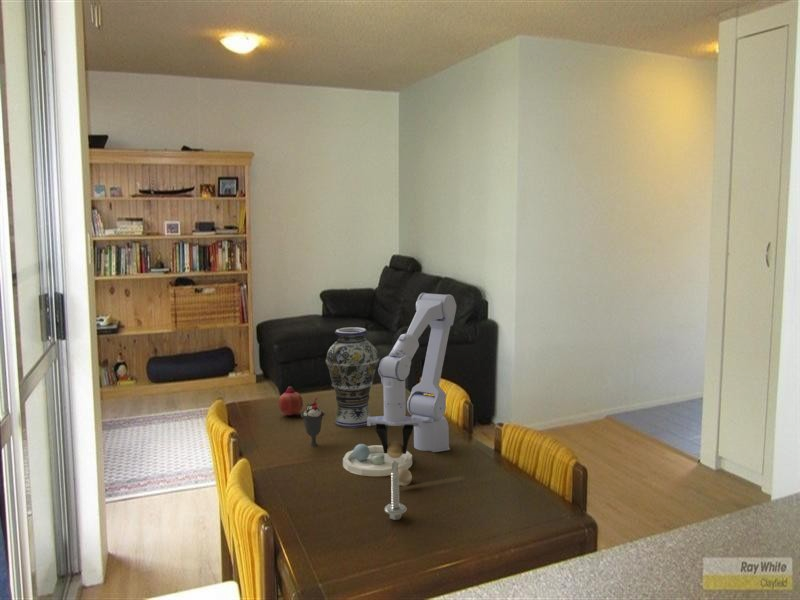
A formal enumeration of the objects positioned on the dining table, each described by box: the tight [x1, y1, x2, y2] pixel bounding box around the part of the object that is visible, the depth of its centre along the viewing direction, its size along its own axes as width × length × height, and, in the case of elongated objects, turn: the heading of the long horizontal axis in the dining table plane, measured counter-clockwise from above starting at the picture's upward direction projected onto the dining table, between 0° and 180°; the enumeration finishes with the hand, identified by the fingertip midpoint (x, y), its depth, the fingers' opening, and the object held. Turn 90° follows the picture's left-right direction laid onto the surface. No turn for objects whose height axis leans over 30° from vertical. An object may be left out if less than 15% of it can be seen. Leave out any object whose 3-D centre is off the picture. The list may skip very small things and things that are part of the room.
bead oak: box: [387, 440, 403, 458], centre depth 174 cm, size 4×4×4 cm
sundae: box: [300, 397, 326, 448], centre depth 189 cm, size 7×7×15 cm
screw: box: [384, 461, 407, 521], centre depth 145 cm, size 13×5×5 cm
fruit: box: [277, 385, 304, 417], centre depth 220 cm, size 8×8×10 cm
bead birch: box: [398, 468, 413, 488], centre depth 162 cm, size 4×4×4 cm
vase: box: [325, 326, 380, 429], centre depth 211 cm, size 17×17×30 cm
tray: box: [342, 444, 413, 477], centre depth 176 cm, size 18×18×3 cm
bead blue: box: [352, 443, 370, 461], centre depth 177 cm, size 4×4×4 cm
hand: (395, 452), depth 175 cm, fingers closed on bead oak, 4 cm apart
